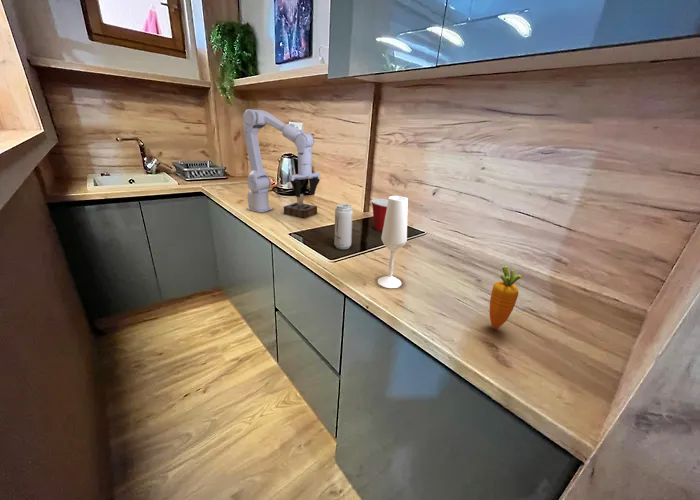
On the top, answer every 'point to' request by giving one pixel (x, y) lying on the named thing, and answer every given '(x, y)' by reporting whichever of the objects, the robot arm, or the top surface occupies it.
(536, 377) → the top surface
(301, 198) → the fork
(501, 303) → the carrot
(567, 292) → the top surface
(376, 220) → the plastic cup
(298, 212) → the dark wooden slotted block
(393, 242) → the champagne flute
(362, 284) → the top surface
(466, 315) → the top surface
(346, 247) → the energy drink can
